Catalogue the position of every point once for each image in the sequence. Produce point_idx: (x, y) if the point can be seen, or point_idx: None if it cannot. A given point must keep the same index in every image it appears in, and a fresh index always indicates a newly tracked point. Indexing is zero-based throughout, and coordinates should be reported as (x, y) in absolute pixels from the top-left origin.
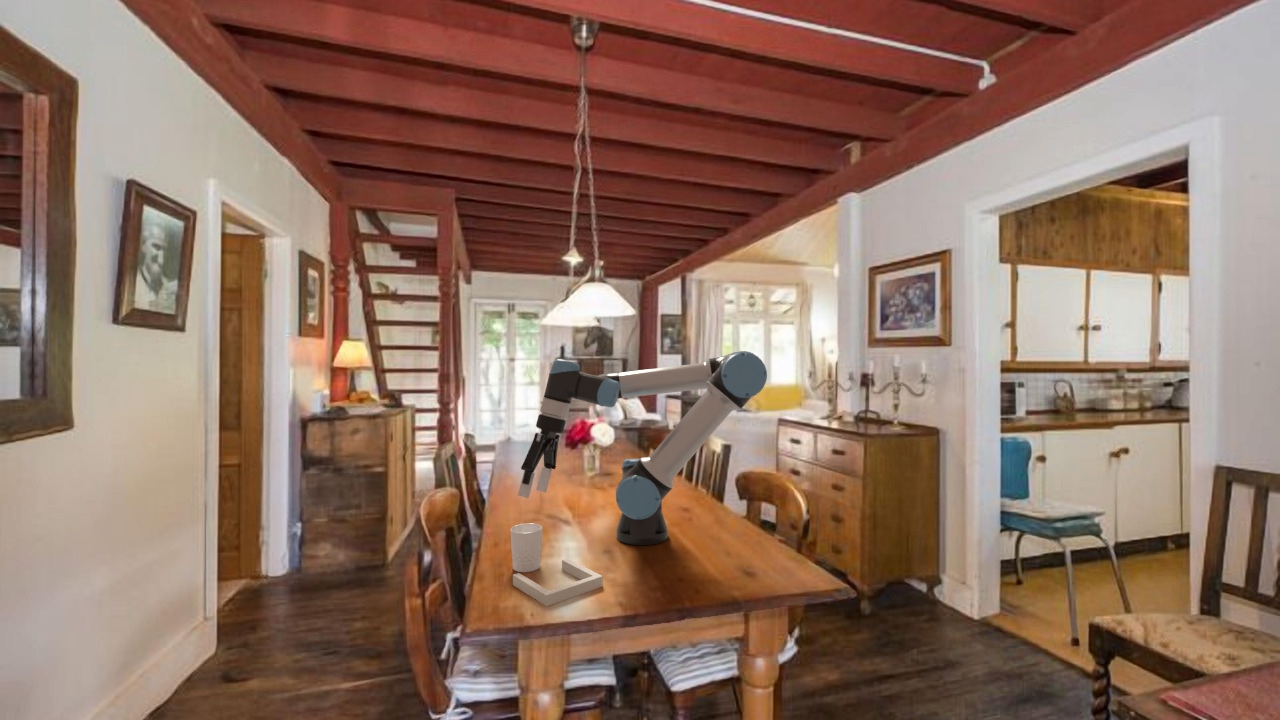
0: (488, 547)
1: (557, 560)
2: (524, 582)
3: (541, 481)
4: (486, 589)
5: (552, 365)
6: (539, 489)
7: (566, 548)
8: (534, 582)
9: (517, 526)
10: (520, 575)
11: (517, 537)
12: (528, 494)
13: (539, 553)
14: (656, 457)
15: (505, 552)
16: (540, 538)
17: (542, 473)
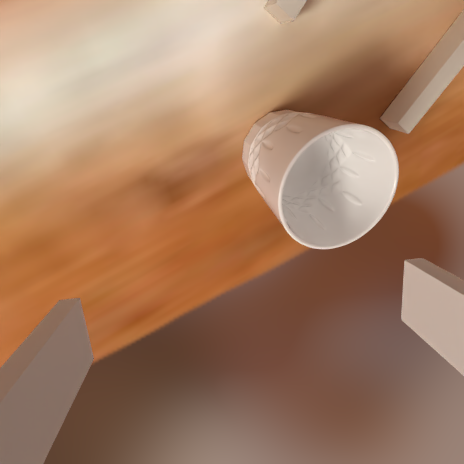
0: (168, 320)
1: (205, 76)
2: (453, 75)
3: (63, 386)
4: (410, 176)
5: None
6: (86, 344)
7: (79, 91)
8: (462, 42)
9: (307, 240)
10: (414, 109)
11: (381, 189)
12: (437, 266)
13: (306, 113)
14: None
15: (188, 263)
16: (332, 119)
17: (35, 454)
